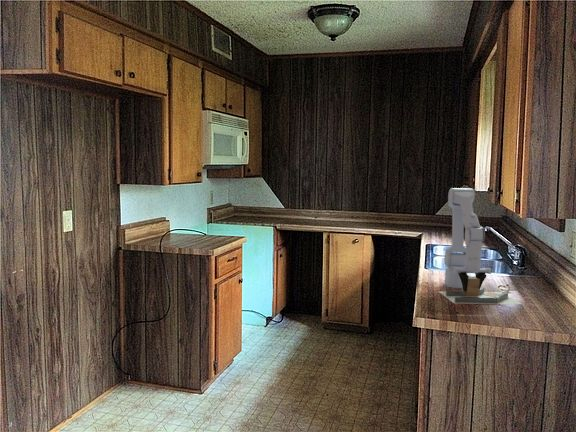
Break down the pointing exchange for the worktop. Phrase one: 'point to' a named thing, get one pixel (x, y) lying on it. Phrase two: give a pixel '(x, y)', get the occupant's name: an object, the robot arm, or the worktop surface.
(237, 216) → the worktop surface
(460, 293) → the rails
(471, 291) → the walnut block
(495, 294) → the channel board
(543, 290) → the worktop surface
